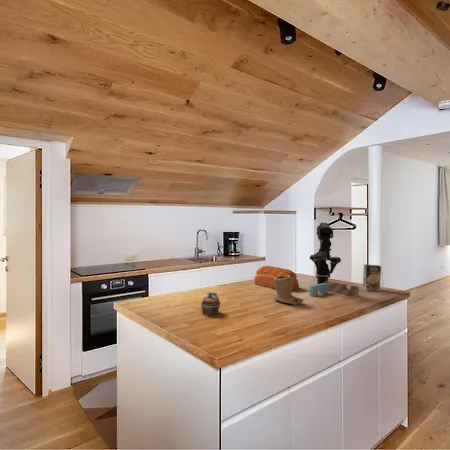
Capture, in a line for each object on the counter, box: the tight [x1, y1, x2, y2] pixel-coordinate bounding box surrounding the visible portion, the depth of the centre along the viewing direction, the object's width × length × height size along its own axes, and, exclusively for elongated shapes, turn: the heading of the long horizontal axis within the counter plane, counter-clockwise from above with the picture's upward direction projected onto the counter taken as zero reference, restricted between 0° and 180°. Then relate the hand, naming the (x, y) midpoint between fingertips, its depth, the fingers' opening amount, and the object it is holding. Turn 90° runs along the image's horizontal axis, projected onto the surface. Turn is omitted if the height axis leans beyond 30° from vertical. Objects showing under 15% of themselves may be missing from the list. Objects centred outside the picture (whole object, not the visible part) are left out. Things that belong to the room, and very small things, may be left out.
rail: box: [325, 280, 359, 298], centre depth 214 cm, size 22×2×6 cm, turn 39°
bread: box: [253, 265, 300, 291], centre depth 234 cm, size 16×31×13 cm, turn 39°
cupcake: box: [200, 292, 221, 316], centre depth 171 cm, size 10×10×10 cm
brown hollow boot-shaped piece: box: [273, 275, 304, 306], centre depth 192 cm, size 15×12×15 cm
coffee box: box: [362, 264, 382, 292], centre depth 224 cm, size 9×6×16 cm
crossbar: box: [309, 283, 328, 298], centre depth 211 cm, size 15×2×6 cm, turn 129°
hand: (324, 272), depth 214 cm, fingers open, 9 cm apart
